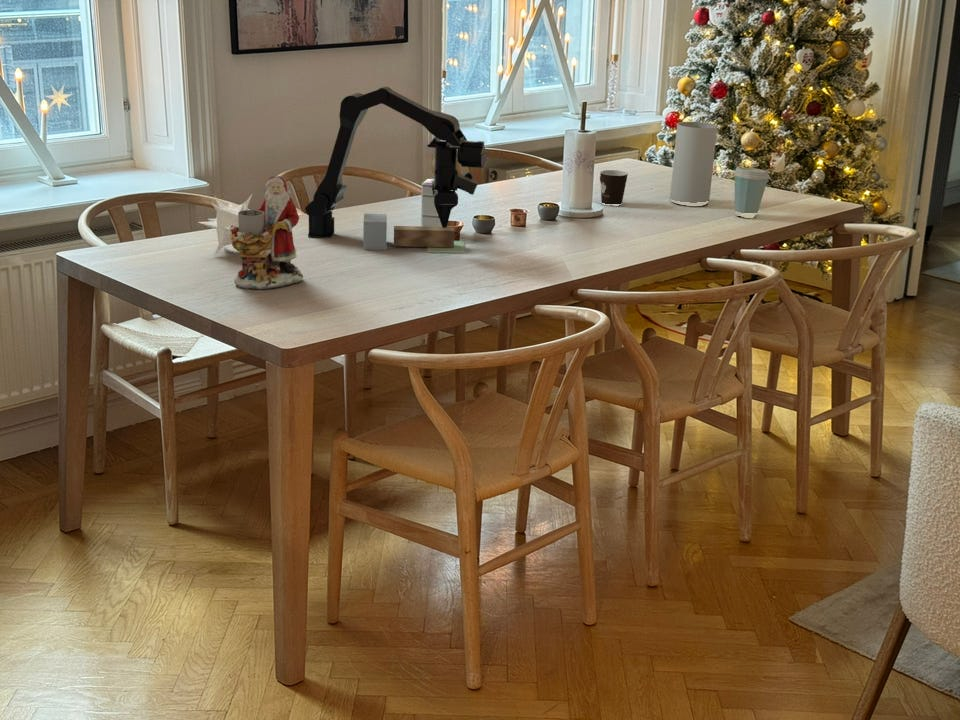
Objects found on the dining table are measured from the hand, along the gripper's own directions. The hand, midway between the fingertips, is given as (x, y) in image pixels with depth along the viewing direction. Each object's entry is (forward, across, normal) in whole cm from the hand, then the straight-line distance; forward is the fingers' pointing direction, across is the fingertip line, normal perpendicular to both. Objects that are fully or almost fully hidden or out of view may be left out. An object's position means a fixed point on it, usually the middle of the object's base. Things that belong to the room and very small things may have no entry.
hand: (443, 223), depth 314 cm
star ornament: (+7, -9, +54) cm, 55 cm away
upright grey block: (+6, 0, +18) cm, 19 cm away
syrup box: (+7, +16, +2) cm, 18 cm away
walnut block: (+6, 0, +5) cm, 8 cm away
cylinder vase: (+7, +61, -82) cm, 102 cm away
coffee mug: (+7, +58, -56) cm, 81 cm away
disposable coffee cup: (+7, +44, -96) cm, 106 cm away
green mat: (+6, 0, -1) cm, 7 cm away
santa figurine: (+7, -35, +43) cm, 56 cm away
